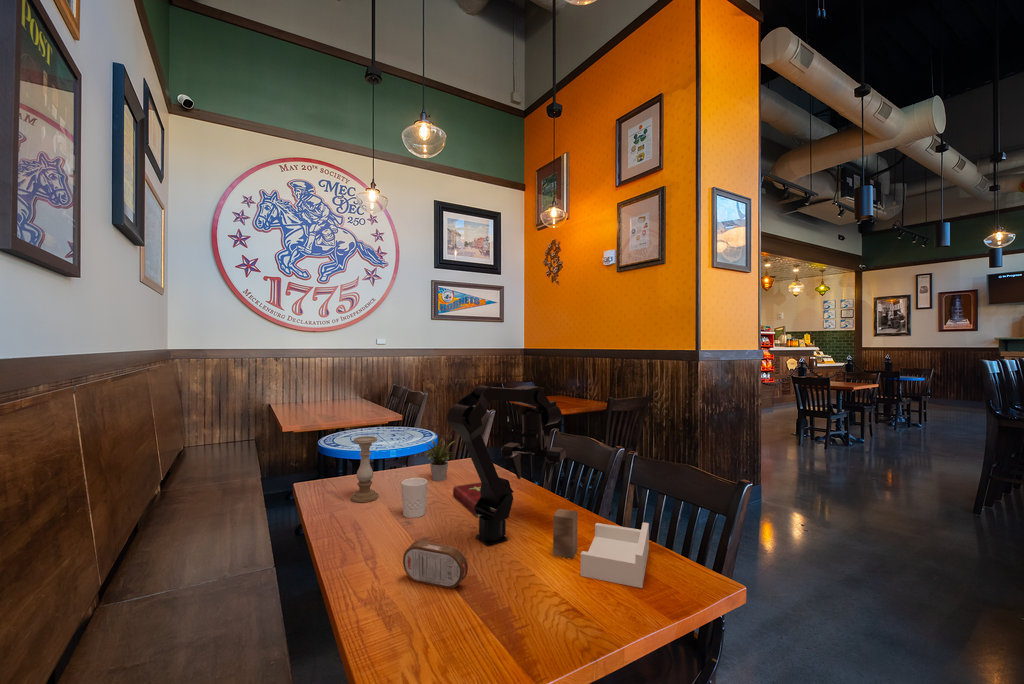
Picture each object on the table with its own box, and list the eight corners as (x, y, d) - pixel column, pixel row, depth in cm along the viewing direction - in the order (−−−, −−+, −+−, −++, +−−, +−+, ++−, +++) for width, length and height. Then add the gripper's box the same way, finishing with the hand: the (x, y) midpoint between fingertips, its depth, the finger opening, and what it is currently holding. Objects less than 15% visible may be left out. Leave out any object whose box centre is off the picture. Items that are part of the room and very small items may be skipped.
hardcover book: (476, 519, 134) (476, 505, 134) (452, 497, 152) (453, 485, 152) (511, 512, 139) (511, 499, 139) (484, 492, 158) (484, 480, 158)
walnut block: (553, 555, 110) (553, 515, 110) (558, 547, 115) (558, 508, 115) (572, 559, 108) (573, 518, 108) (577, 550, 113) (577, 511, 113)
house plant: (411, 483, 166) (411, 440, 166) (424, 473, 179) (424, 433, 179) (447, 486, 163) (448, 441, 163) (458, 475, 177) (458, 434, 177)
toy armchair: (580, 575, 100) (580, 545, 100) (595, 541, 118) (596, 515, 118) (642, 588, 95) (642, 555, 95) (648, 550, 113) (648, 523, 113)
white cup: (395, 516, 134) (396, 483, 134) (410, 507, 141) (411, 476, 141) (417, 520, 131) (418, 486, 131) (432, 511, 138) (432, 479, 138)
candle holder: (383, 497, 151) (384, 437, 151) (362, 504, 143) (363, 442, 143) (366, 492, 155) (367, 434, 156) (345, 499, 148) (346, 439, 148)
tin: (468, 586, 96) (468, 547, 96) (462, 593, 93) (462, 553, 93) (408, 573, 101) (408, 536, 101) (400, 580, 98) (400, 542, 98)
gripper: (571, 425, 133) (572, 476, 134) (515, 420, 141) (516, 469, 142) (558, 433, 123) (560, 488, 124) (499, 428, 131) (500, 480, 132)
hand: (533, 480), depth 130 cm, fingers open, 9 cm apart
